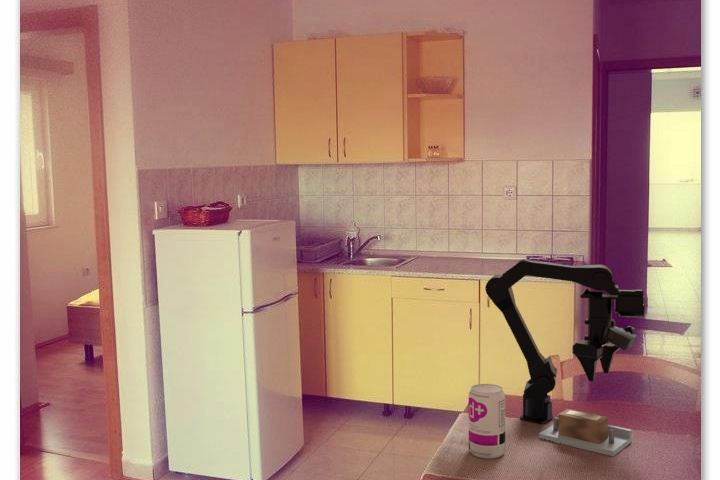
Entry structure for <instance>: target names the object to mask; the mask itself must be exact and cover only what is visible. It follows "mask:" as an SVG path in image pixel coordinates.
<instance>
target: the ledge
mask: <svg viewBox="0 0 720 480" xmlns="http://www.w3.org/2000/svg"><path fill="white" fill-rule="evenodd" d="M558 418H559V414H557V416H553V418H552V419H553V423H552V425H550V426H548V427H547V428H546V429H543V430H542V431H541V432H539V433H538V439H540V438H543V439H542V440H544V439H546V440H545V441H548V440H551V441H550V442H552V441H554V442H553V443H556V442H557V444H560V443H561V444H560V445H564V446H569V447H573V448H578V449H581V450H586V451H590V452H592V453H593V452H594V453H598V454H603V455H606V456H610V457H614V456H616V455H617V454H619V453H620V452H621V451H622V450H624V449H625V448H626V447H628V445H630V444H631V443H632V435H633V434H632V433H633V432H632V429H630V428H625V427H621V426H615V425H611V424H608V439H606V440H605V441H603V442H602V443H601V444H596V443H592V442H587V441H583V440H579V439H575V438H570V437H566V436H562V435H558Z"/></svg>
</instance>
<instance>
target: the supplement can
mask: <svg viewBox="0 0 720 480" xmlns="http://www.w3.org/2000/svg"><path fill="white" fill-rule="evenodd" d="M470 388H471V389H470V391H469V392H468V395H467V396H468V450H469V452H470V453H471V454H472V456H474V457H477V458H480V459H490V460H491V459H492V460H493V459H497V458H500V457H502V456H503V455H504V454H505V453H506V393H505V391H504V389H503V387H502V386H500V385H498V384H492V383H477V384H474V385H472V386H470Z"/></svg>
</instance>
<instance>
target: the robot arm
mask: <svg viewBox="0 0 720 480" xmlns="http://www.w3.org/2000/svg"><path fill="white" fill-rule="evenodd" d="M612 273H613V272H612V271H611V270H610V268H609V267H608V266H606V265H604V264H585V265H567V264H562V263H561V264H560V263H553V262H545V261H540V260H539V261H537V260H531V259H527V258H522V259H519V261H518V262H517V263H516V264H515V265H513V266H512V267H510V268H509V269H507V270H506V271H505V272H504V273H502V274H495V275H493V276H492V277H490V278H489V280H488V281H487V282H486V284H485V287H484V288H485V293H486V295H487V296H488V297H489V299H490V301H491V302H492V303H493V304H494V306H496V307H497V309H498V310H499V311H500V312H501V314H502V315H503V317H504V319H505V321H506V323H507V325H508V327H509V329H510V331H511V333H512V334H513V336H514V339H515V341H516V342H517V346H519V348H520V350H521V353H522V355H523V357H524V358H525V360H526V365H527V369H528V374H529V378H530V379H528V380H527V381H526V382H525V387H524V389H523V394H522V415H520V416H519V419H520V420H524V421H528V420H529V422H532V421H534V422H533V423H537V422H539V423H538V424H545V423H546V422H548V421H549V420H551V419H553V418H554V415H553V402H552V401H551V395H549V393H550V392H553V391H554V389H555V387H556V384H557V376H558V375H557V374H558V369H557V368H556V367H555V365H554V363H553V361H552V357H551V356H548V357H544V355H543V354H542V353H541V352H540V349H539V348H538V346H537V343H536V341H535V340H534V338H533V336H532V334H531V331H530V330H529V327H528V326H527V324H526V322H525V319H524V318H523V316H522V313H521V312H520V310H519V308H518V306H517V304H516V299H515V294H514V291H513V286H514V285H515V284H517V283H518V282H519V281H521V280H522V279H523V278H524V277H526V276H528V277H529V276H530V277H536V278H544V279H552V280H558V281H566V282H573V283H575V284H578V285H581V286H583V287H585V289H584V291H582V292H580V295H579V297H580V298H581V299H587V318H586V319H584V324H585V325H587V326H586V327H587V334H586V335H584V337H583V338H584V339H582V340H579V341H577V342H575V343H574V344H573V345H572V354H573V355H574V357H576V358H577V360H578V362H579V363H580V365H581V367H582V369H583V372H584V373H585V375H586V378H587V380H588V381H589V382H592V383H593V382H595V377H596V370H597V363H598V361H600V365H601V368H602V372H603V373H604V374H607V375H608V374H609V373H610V370H611V365H612V363H613V359H614V357H615V353H617V351H619V350H620V349H621V350H624V351H628V350H629V349H631V348H632V347H633V345H634V343H635V341H637V340H638V338H637V334H636V328H635V327H633V326H631V325H628V326H626V327H624V328H623V327H618V326H617V323H616V322H617V321H616V320H615V319H612V318H613V300H614V313H617V315H618V316H619V317H622V318H644V317H645V302H644V291H643V289H620V288H619V285H618V284H617V283H615V282H614V281H613V280H614V279H613V274H612ZM590 289H592V290H590ZM603 291H604V292H606V293H607V294H603ZM544 422H545V423H544Z"/></svg>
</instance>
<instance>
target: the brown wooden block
mask: <svg viewBox="0 0 720 480" xmlns="http://www.w3.org/2000/svg"><path fill="white" fill-rule="evenodd" d="M558 415H559V418H558V417H557V418H558V435H562V436H566V437H570V438H575V439H579V440H583V441H587V442H592V443H596V444H601V443H602V442H603V441H605V440H606V439H608V425H609V416H604V415H599V414H594V413H589V412H584V411H580V410H576V409H570V408H566V409H565V410H564V411H563V410H562V411H561V412H559V413H558Z"/></svg>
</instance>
